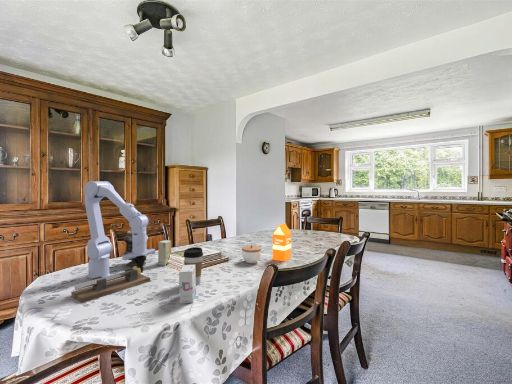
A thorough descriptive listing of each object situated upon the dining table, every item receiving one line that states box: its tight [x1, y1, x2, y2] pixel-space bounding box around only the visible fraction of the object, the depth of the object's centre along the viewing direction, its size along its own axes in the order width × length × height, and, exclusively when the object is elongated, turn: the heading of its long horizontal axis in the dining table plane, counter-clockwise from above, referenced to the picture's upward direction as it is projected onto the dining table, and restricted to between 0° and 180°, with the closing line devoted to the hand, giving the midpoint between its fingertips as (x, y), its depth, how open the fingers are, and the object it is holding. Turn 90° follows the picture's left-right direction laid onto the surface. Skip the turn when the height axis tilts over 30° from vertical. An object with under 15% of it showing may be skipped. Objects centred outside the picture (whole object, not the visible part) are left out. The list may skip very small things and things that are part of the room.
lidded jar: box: [241, 244, 262, 264], centre depth 149 cm, size 11×11×9 cm
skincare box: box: [157, 239, 172, 266], centre depth 144 cm, size 6×4×12 cm
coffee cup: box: [182, 246, 204, 286], centre depth 116 cm, size 8×8×15 cm
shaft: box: [74, 266, 142, 291], centre depth 110 cm, size 4×24×4 cm, turn 143°
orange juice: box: [272, 223, 292, 262], centre depth 156 cm, size 8×9×20 cm
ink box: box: [178, 264, 197, 304], centre depth 101 cm, size 9×5×12 cm, turn 5°
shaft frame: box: [71, 267, 151, 304], centre depth 111 cm, size 10×27×6 cm, turn 143°
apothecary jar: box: [123, 229, 149, 268], centre depth 142 cm, size 12×12×18 cm
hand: (139, 272), depth 120 cm, fingers closed
